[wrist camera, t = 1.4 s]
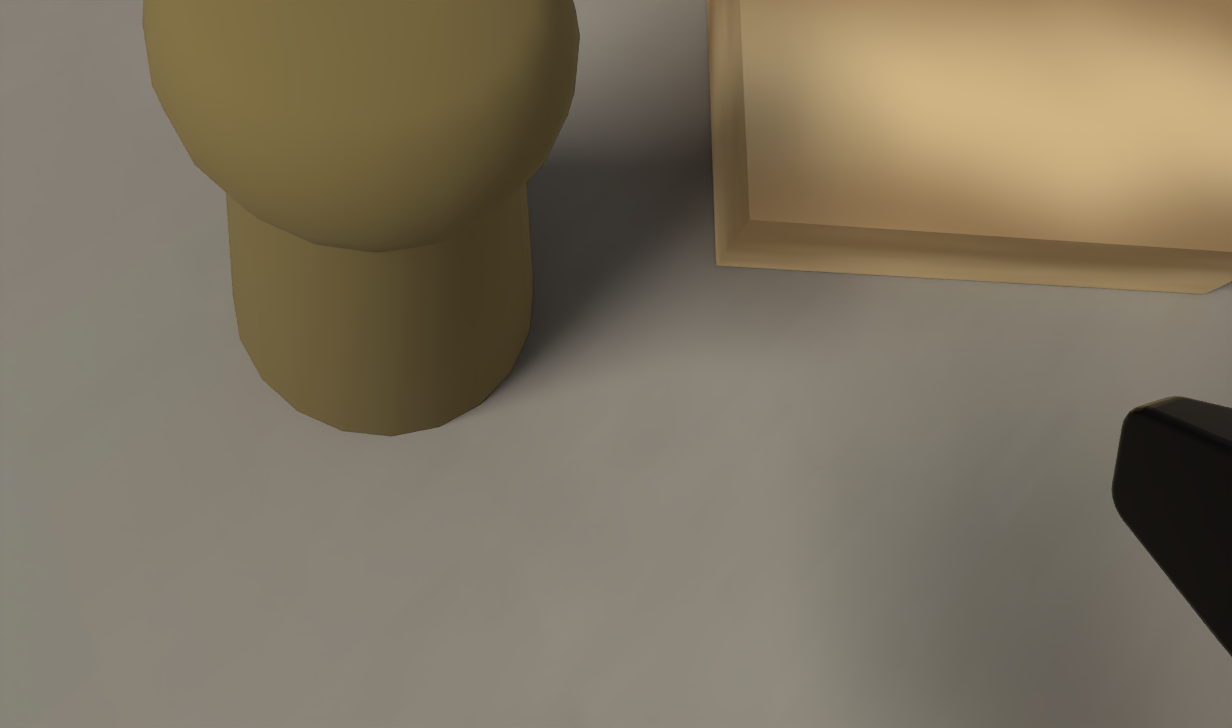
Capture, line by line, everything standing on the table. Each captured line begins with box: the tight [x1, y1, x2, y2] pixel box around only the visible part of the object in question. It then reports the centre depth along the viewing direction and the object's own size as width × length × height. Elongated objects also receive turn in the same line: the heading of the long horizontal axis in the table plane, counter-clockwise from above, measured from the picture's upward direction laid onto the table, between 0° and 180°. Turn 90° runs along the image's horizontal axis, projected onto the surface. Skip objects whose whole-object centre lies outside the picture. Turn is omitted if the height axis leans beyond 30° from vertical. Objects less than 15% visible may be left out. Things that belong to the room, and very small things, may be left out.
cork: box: [143, 0, 580, 436], centre depth 17 cm, size 6×6×11 cm
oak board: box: [707, 0, 1232, 294], centre depth 25 cm, size 12×12×2 cm
